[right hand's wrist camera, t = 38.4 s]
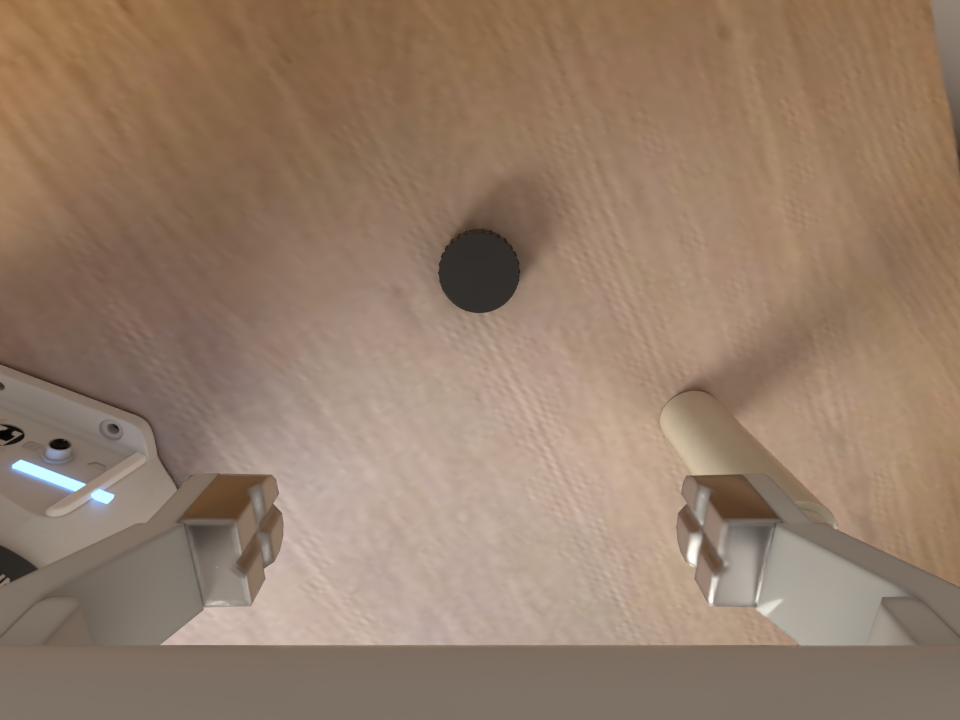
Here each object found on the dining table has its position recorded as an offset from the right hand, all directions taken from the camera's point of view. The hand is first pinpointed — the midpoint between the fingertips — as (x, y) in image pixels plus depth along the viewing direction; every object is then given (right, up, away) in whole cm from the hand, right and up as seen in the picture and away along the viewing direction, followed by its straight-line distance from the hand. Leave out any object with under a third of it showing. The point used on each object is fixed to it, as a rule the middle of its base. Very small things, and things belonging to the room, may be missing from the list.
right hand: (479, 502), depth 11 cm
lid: (0, +8, +23) cm, 25 cm away
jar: (+16, -2, +29) cm, 33 cm away
